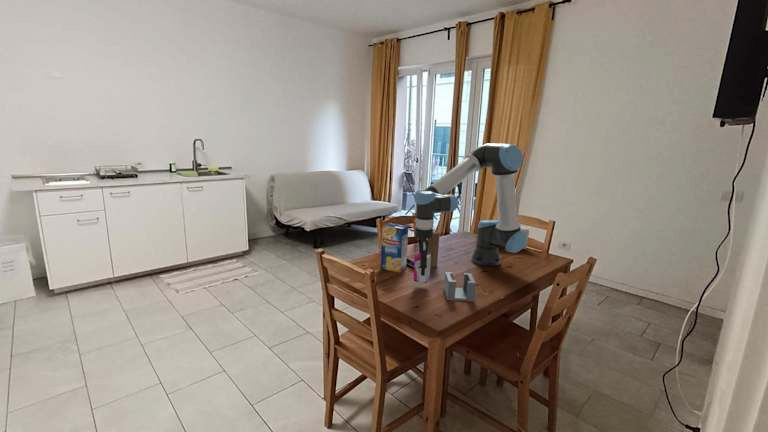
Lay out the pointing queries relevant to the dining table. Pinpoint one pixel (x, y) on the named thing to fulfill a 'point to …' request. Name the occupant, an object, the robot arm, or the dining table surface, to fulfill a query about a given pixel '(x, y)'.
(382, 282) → the dining table surface
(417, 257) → the supplement box
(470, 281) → the socket block
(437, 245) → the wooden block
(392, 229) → the beverage box
